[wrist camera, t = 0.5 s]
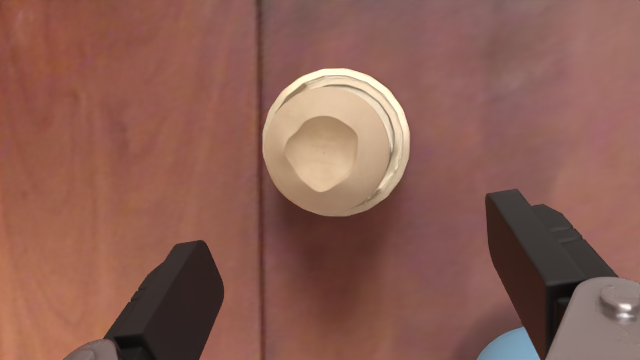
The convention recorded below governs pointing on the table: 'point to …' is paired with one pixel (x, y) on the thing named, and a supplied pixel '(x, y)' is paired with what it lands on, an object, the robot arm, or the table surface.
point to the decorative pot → (510, 347)
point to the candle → (326, 149)
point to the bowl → (383, 106)
